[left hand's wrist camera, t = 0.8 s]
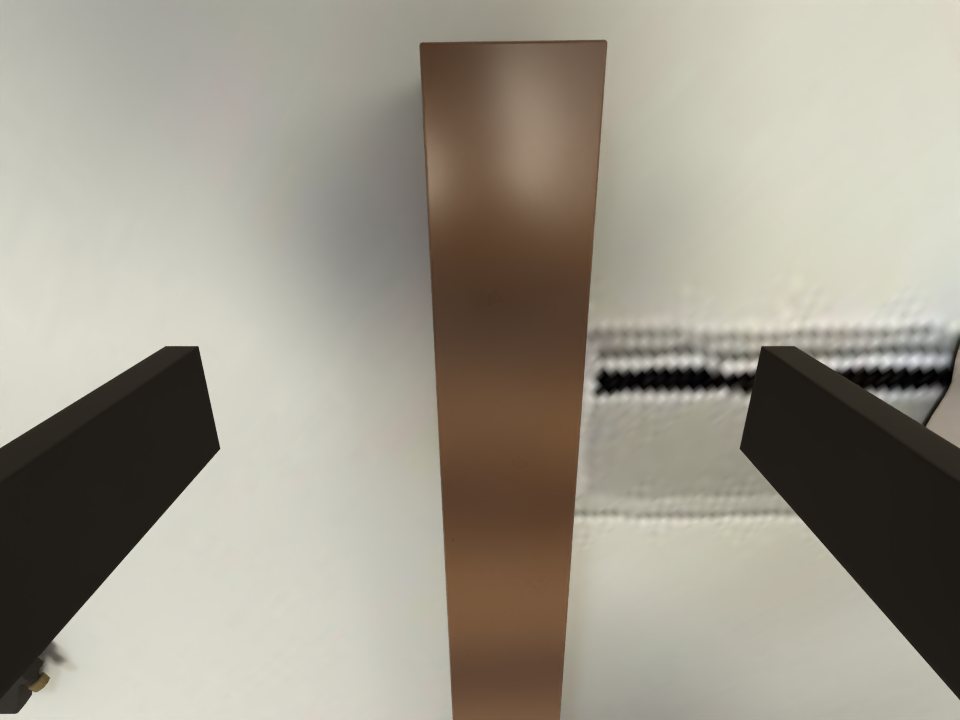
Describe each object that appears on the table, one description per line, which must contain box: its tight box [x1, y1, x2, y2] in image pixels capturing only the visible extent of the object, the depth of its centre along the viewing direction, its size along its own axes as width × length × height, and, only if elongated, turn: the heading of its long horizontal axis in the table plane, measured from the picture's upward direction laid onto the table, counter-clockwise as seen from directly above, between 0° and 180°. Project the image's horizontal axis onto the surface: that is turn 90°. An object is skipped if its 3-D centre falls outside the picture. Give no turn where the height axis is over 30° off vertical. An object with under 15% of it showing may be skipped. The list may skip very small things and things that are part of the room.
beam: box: [420, 40, 607, 720], centre depth 29 cm, size 54×6×8 cm, turn 1°
